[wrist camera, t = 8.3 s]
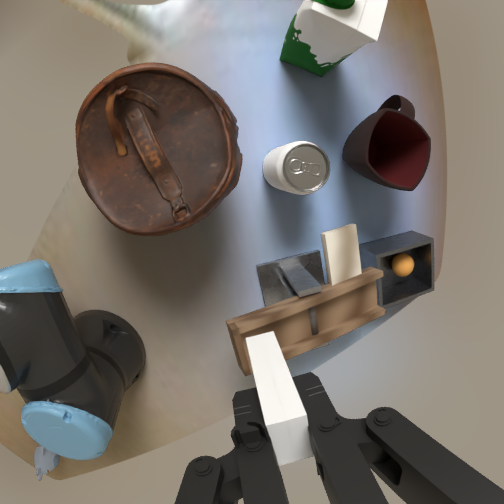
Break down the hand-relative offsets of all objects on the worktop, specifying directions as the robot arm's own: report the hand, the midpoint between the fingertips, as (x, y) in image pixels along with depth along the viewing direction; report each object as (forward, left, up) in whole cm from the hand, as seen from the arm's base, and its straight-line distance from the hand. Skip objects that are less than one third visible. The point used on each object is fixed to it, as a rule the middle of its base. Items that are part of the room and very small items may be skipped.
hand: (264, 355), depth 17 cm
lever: (+8, -8, -23) cm, 25 cm away
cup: (+24, +10, -33) cm, 42 cm away
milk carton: (+18, +26, -33) cm, 45 cm away
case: (-6, +14, -33) cm, 36 cm away
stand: (+8, -11, -32) cm, 35 cm away
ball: (+25, -11, -30) cm, 40 cm away
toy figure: (-54, -38, -33) cm, 74 cm away
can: (+10, +8, -33) cm, 35 cm away
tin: (+25, -11, -32) cm, 43 cm away
